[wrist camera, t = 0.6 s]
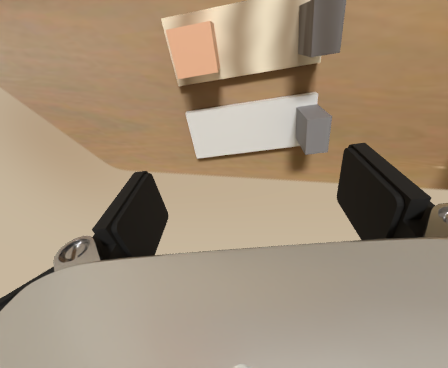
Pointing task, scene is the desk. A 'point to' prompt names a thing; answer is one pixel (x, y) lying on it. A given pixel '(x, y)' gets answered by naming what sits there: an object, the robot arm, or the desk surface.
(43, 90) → the desk surface
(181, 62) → the cube
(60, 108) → the desk surface
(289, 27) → the cube strip
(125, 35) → the desk surface
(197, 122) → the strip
